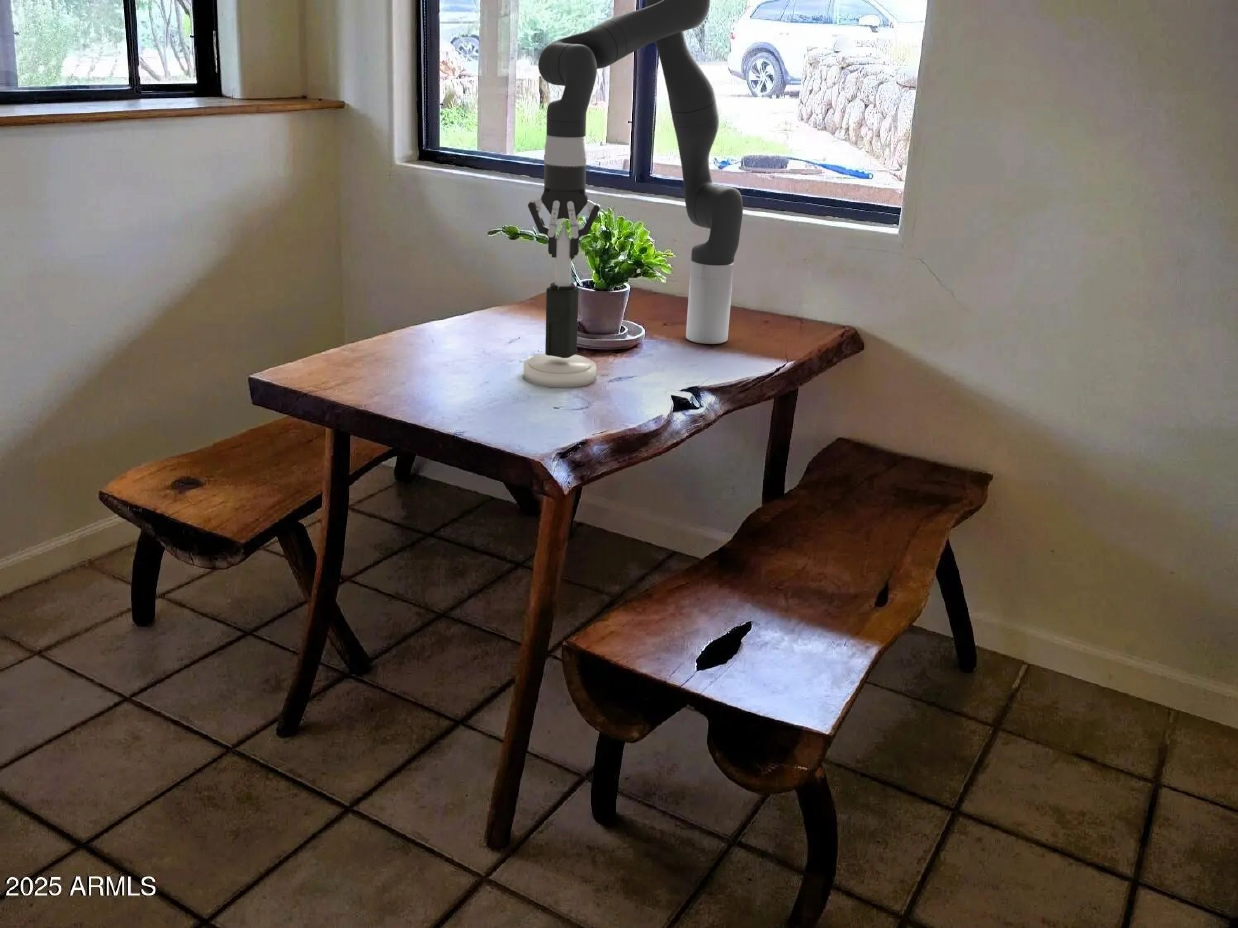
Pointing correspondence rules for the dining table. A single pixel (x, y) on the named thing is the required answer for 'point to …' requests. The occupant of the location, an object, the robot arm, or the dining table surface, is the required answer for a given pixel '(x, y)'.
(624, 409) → the dining table surface
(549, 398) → the dining table surface
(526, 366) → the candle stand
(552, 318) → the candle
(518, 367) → the dining table surface
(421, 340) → the dining table surface
